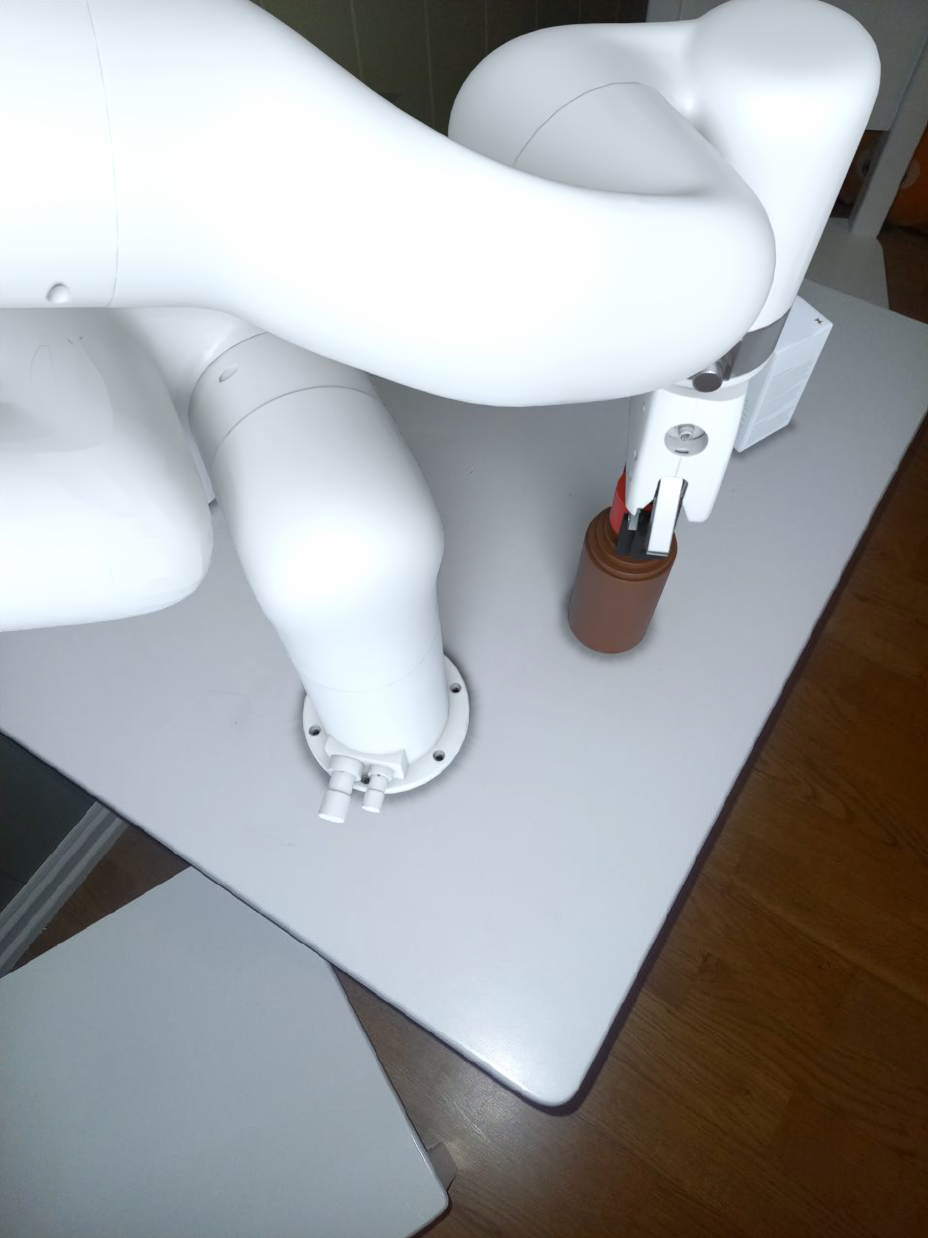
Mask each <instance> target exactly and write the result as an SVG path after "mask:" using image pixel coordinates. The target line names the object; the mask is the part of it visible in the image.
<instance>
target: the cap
mask: <svg viewBox="0 0 928 1238" xmlns="http://www.w3.org/2000/svg"><path fill="white" fill-rule="evenodd" d="M625 493H626V472H624V473H623V472H622V474H621V475H620V477H619V478H618V480H617V483H616V487H615V491H614V495H613V499H612V503H611V506H612V507H611V511H610V523H611V525H612V527H613V529H614V530H615V532H616V533H617V534H619V531H620V527H621V523H622V519H623V515H624V513H625V514H626V513H629V510H628V509H627V508H626V504H625ZM652 507H653V505H650V504H647V505H646V506H645V507H644V508H643V509H642V510H649V511H652Z"/></svg>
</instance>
